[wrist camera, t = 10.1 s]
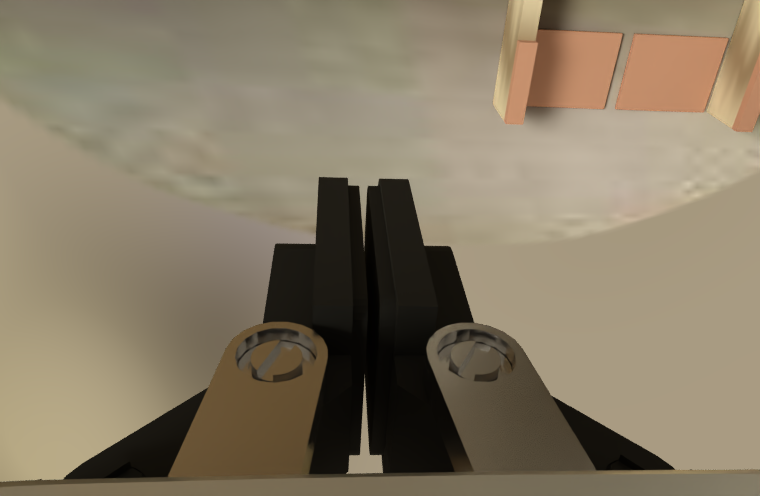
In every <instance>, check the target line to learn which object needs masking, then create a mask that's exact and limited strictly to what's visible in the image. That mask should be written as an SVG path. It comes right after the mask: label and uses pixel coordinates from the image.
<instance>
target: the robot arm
mask: <svg viewBox="0 0 760 496" xmlns="http://www.w3.org/2000/svg"><path fill="white" fill-rule="evenodd" d="M364 375H365V386H366V401H367V402H366V403H367V420H368V436H369V451H370V455H382V465H383V473H366V474H346V473H347V472H348V466H349V455H360V443H361V426H362V425H361V424H362V408H363V391H364ZM0 496H760V470H755V469H750V470H675V469H674V468H673V467H672V466H671V465H669V464H668V463H666V462H665V461H663V460H662V459H661V458H659V457H658V456H656V455H655V454H653V453H651V452H649V451H648V450H646V449H644V448H642V447H641V446H639V445H637V444H635V443H633V442H632V441H630V440H628V439H626V438H624V437H623V436H621V435H619V434H618V433H616V432H614V431H612V430H611V429H609V428H607V427H605V426H604V425H602V424H600V423H598V422H597V421H595V420H593V419H591V418H590V417H588V416H586V415H584V414H583V413H581V412H579V411H577V410H576V409H574V408H572V407H570V406H568V405H567V404H565V403H563V402H562V401H560V400H558V399H556V398H555V397H553V396H551V395H550V393H549V391H548V390H547V388H546V386H545V385H544V383H543V381H542V380H541V378H540V376H539V375H538V373H537V372H536V370H535V368H534V367H533V365H532V363H531V362H530V360H529V358H528V357H527V355H526V353H525V352H524V350H523V349H522V348H521V346H520V345H519V344H518V343H517V342H516V340H515V339H513V338H512V337H510V336H509V335H507V334H506V333H505V332H503V331H500V330H498V329H496V328H493V327H491V326H487V325H483V324H478V323H474V321H473V318H472V315H471V311H470V308H469V304H468V301H467V298H466V295H465V291H464V288H463V285H462V281H461V278H460V275H459V271H458V268H457V265H456V262H455V258H454V255H453V252H452V249H451V247H449V246H424V244H423V239H422V235H421V231H420V227H419V222H418V218H417V214H416V210H415V205H414V201H413V197H412V192H411V188H410V184H409V180H408V179H379V183H378V186H368V189H367V205H366V225H365V245H364V244H363V231H362V218H361V205H360V192H359V186H348V178H330V177H319V185H318V205H317V226H316V244H275V249H274V255H273V261H272V268H271V274H270V281H269V287H268V294H267V300H266V307H265V313H264V320H263V324H259V325H256V326H253V327H251V328H249V329H246V330H244V331H243V332H241V333H240V334H239V335H237V336H236V337H234V338H233V339H232V341H231V342H230V344H229V345H228V346H227V348H226V349H225V352H224V354H223V356H222V358H221V360H220V363H219V365H218V367H217V369H216V371H215V374H214V376H213V378H212V380H211V382H210V385H209V387H208V388H207V389H205V390H203V391H202V392H200V393H198V394H197V395H195V396H193V397H192V398H190V399H188V400H187V401H185V402H184V403H182V404H180V405H179V406H177V407H175V408H173V409H172V410H170V411H168V412H167V413H165V414H163V415H162V416H160V417H159V418H157V419H155V420H154V421H152V422H151V423H149V424H147V425H145V426H144V427H142V428H140V429H139V430H137V431H136V432H134V433H132V434H130V435H129V436H127V437H126V438H124V439H122V440H120V441H119V442H117V443H115V444H114V445H112V446H111V447H109V448H107V449H106V450H104V451H102V452H101V453H99V454H98V455H96V456H94V457H92V458H91V459H89V460H87V461H86V462H84V463H82V464H81V465H80V466H78V467H77V468H76V469H75V470H73V471H72V472H71V473H69V474H68V475H67V476H66V477H65V478H64V479H63V480H42V479H40V480H25V481H7V482H0Z"/></svg>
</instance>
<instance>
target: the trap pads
mask: <svg viewBox="0 0 760 496" xmlns="http://www.w3.org/2000/svg"><path fill="white" fill-rule="evenodd" d="M622 35H623V34H622V33H611V32H589V31H567V30H545V29H538V30H537V35H536V41H527V40H517V46H516V52H515V58H514V64H513V70H512V76H511V82H510V88H509V94H508V100H507V106H506V112H505V118H504V122H505V123H506V124H523V121H524V116H525V111H526V106H535V107H564V108H593V109H604V107H605V103H606V99H607V95H608V91H609V87H610V83H611V79H612V75H613V71H614V67H615V63H616V59H617V55H618V51H619V47H620V43H621V39H622ZM728 39H729V38H720V37H698V36H676V35H654V34H634V38H633V41H632V45H631V49H630V53H629V57H628V60H627V64H626V68H625V72H624V76H623V79H622V83H621V87H620V91H619V95H618V98H617V102H616V106H615V109H621V110H650V111H678V112H704V110H705V107H706V104H707V101H708V98H709V95H710V92H711V89H712V86H713V83H714V80H715V77H716V74H717V72H718V69H719V66H720V63H721V60H722V57H723V54H724V51H725V48H726V45H727V42H728ZM759 113H760V54H759V56H758V59H757V62H756V64H755V67H754V70H753V72H752V75H751V78H750V81H749V83H748V86H747V89H746V91H745V94H744V97H743V99H742V102H741V105H740V108H739V110H738V113H737V116H736V118H735V121H734V124H733V126H732V129H733V130H735V131H738V132H752V131H753V129H754V126H755V124H756V121H757V118H758V116H759Z"/></svg>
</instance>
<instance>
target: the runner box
mask: <svg viewBox="0 0 760 496" xmlns="http://www.w3.org/2000/svg"><path fill="white" fill-rule="evenodd" d="M542 2H543V0H509V4H508V10H507V16H506V23H505V29H504V36H503V42H502V48H501V55H500V61H499V68H498V74H497V81H496V87H495V93H494V100H493V105H494V107H495V108H496V110H497V111H498V113H499V114H500V116H501V117H502V119H503V120H504V118H505V112H506V106H507V100H508V94H509V88H510V82H511V76H512V70H513V64H514V58H515V52H516V46H517V40H527V41H536V35H537V30H538V24H539V19H540V13H541V8H542ZM759 54H760V0H745V1H744V4H743V6H742V9H741V12H740V15H739V18H738V21H737V24H736V27H735V30H734V33H733V36H732V38H731V41H730V44H729V47H728V50H727V53H726V56H725V59H724V62H723V65H722V68H721V71H720V73H719V76H718V79H717V82H716V85H715V88H714V91H713V94H712V97H711V100H710V103H709V106H708V108H707V111H706V112H708V113H709V114H711V115H712V116H714V117H715V118H717V119H718V120H720V121H721V122H723V123H724V124H726V125H727V126H729V127H730V128H732V126H733V124H734V121H735V118H736V116H737V113H738V110H739V108H740V105H741V102H742V99H743V97H744V94H745V91H746V89H747V86H748V83H749V81H750V78H751V75H752V72H753V70H754V67H755V64H756V62H757V59H758V56H759Z"/></svg>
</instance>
